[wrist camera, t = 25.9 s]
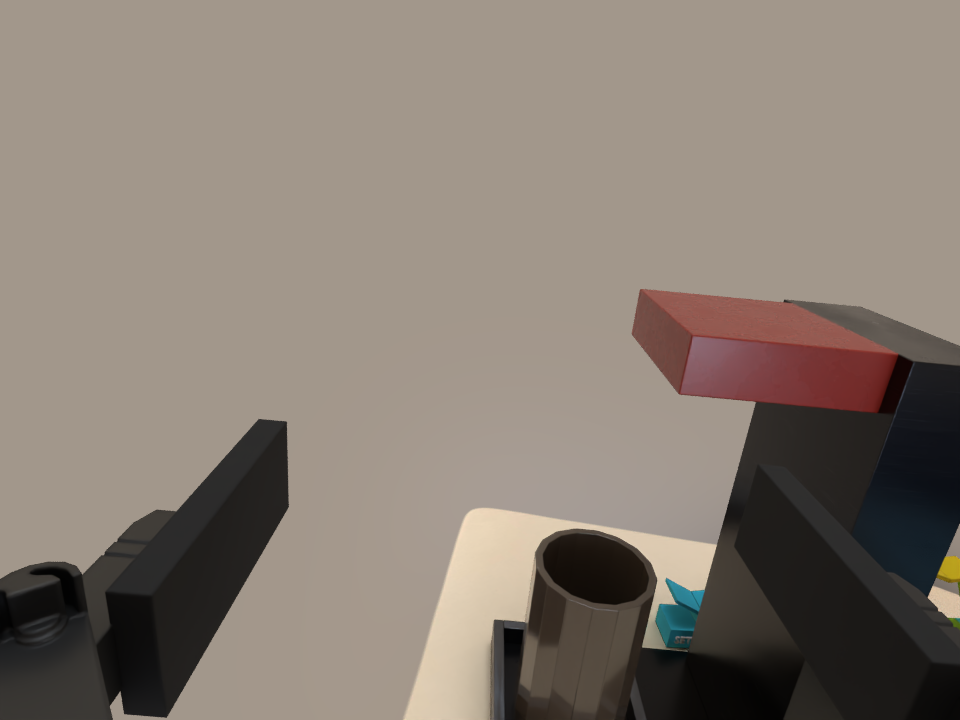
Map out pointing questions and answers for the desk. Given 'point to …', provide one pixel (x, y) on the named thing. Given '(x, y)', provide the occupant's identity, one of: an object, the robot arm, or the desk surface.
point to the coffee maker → (813, 462)
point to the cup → (583, 627)
